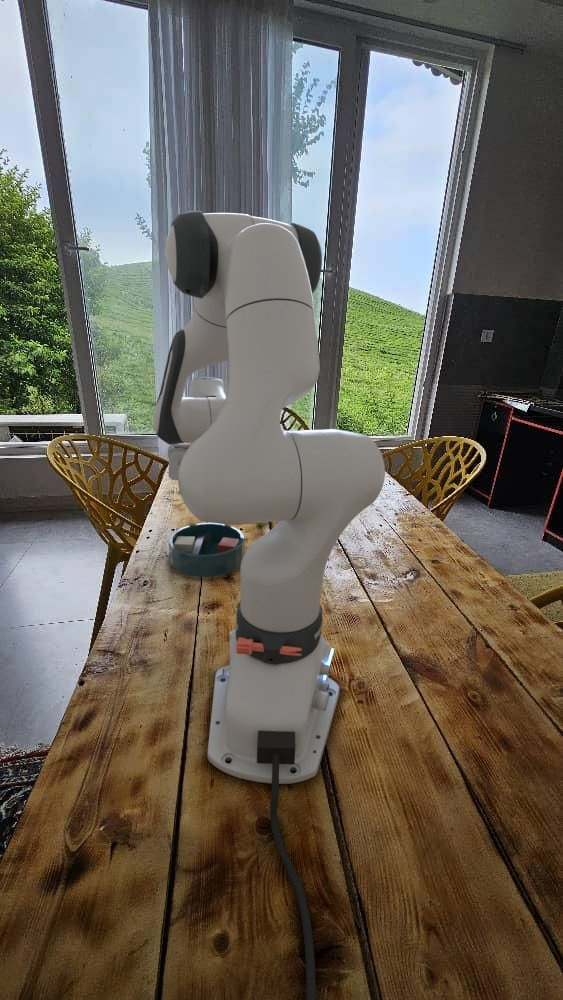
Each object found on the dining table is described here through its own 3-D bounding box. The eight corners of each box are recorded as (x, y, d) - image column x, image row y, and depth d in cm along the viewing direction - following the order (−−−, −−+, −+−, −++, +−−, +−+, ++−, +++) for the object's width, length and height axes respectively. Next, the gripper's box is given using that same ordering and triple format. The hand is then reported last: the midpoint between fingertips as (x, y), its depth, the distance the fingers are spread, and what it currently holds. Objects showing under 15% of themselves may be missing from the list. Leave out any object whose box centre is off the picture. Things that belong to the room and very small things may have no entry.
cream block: (192, 560, 100) (191, 544, 98) (174, 559, 100) (173, 544, 98) (195, 551, 104) (195, 536, 102) (178, 551, 103) (177, 535, 102)
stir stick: (196, 572, 95) (196, 560, 94) (189, 572, 95) (188, 559, 94) (205, 546, 106) (204, 535, 105) (198, 546, 106) (198, 535, 105)
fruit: (263, 532, 116) (264, 514, 114) (255, 531, 116) (255, 513, 114) (269, 516, 125) (269, 500, 124) (262, 515, 126) (262, 499, 124)
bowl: (234, 582, 93) (234, 559, 91) (158, 574, 95) (157, 552, 93) (250, 546, 108) (250, 526, 106) (184, 540, 110) (183, 519, 108)
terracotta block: (235, 562, 100) (235, 547, 98) (218, 560, 100) (217, 545, 99) (240, 554, 103) (240, 539, 102) (223, 552, 104) (223, 537, 102)
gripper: (162, 445, 106) (166, 499, 111) (246, 451, 104) (245, 505, 109) (172, 439, 112) (174, 491, 117) (251, 444, 110) (250, 496, 115)
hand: (209, 498), depth 113 cm, fingers open, 8 cm apart
